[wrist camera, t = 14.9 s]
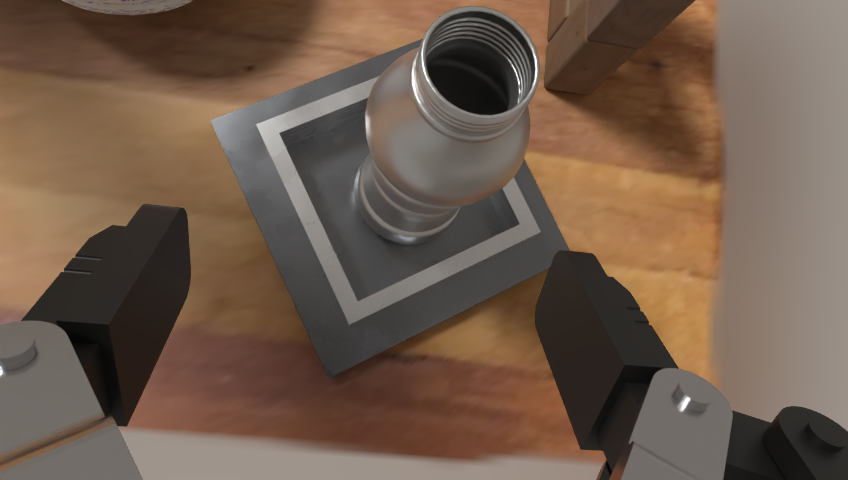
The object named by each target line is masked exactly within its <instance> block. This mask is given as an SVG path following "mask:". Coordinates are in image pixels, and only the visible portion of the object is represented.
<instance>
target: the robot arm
mask: <svg viewBox="0 0 848 480" xmlns="http://www.w3.org/2000/svg"><path fill="white" fill-rule="evenodd" d="M190 279H191V264H190V249H189V234H188V220H187V213H186V211H185V209H184V208H178V207H169V206H160V205H151V204H143V205H142V206H141V207H140V208H139V210H138V211H137V212H136V214H135V215H134V216H133V218H132V219H131V220H130V222H129V223H128V225H127V226H116V225H112V226H110V227H108V228H107V229H105V230H103V231H101V232H99V233H98V234H96V235H94V236H92V237H91V238H89V239H88V240H87V242H86V243H85V244H84V245H83V247H82V248H81V249H80V250H79V251H78V253H77V254H76V257H75V258H73V259H72V260H71V261H70V262H69V263H68V265H67V266H66V267H65V268H64V272H61V273H60V274H59V276H58V277H57V278H56V279H55V280H54V282H53V283H52V284H51V285H50V286H49V288H48V289H47V290H46V291H45V293H44V294H43V295H42V296H41V297H40V299H39V300H38V301H37V302H36V303H35V305H34V306H33V307H32V308H31V309H30V311H29V312H28V313H27V314H26V316H25V317H24V318H23V319H22V320H21V321H19V322H12V323H8V324H4V325H0V480H143V479H142V477H141V475H140V473H139V471H138V468H137V466H136V464H135V462H134V460H133V458H132V456H131V454H130V452H129V449H128V447H127V445H126V443H125V441H124V439H123V437H122V434H121V432H120V430H119V428H118V426H127V425H128V423H129V421H130V419H131V416H132V414H133V412H134V410H135V408H136V406H137V404H138V401H139V399H140V397H141V395H142V393H143V391H144V388H145V386H146V384H147V382H148V380H149V378H150V376H151V373H152V371H153V369H154V367H155V365H156V363H157V361H158V358H159V356H160V354H161V352H162V350H163V348H164V345H165V343H166V341H167V339H168V337H169V335H170V333H171V330H172V328H173V326H174V324H175V322H176V320H177V317H178V315H179V313H180V311H181V309H182V307H183V305H184V302H185V300H186V298H187V295H188V291H189V286H190ZM535 325H536V330H537V333H538V335H539V338H540V341H541V343H542V346H543V349H544V352H545V354H546V357H547V360H548V362H549V365H550V368H551V370H552V373H553V376H554V379H555V381H556V384H557V387H558V389H559V392H560V395H561V398H562V400H563V403H564V406H565V408H566V411H567V414H568V417H569V419H570V422H571V425H572V427H573V430H574V433H575V436H576V438H577V441H578V444H579V446H580V449H581V450H601V451H603V452H604V454H605V457H606V461H605V463H604V464H603V466H602V468H601V470H600V472H599V475H598V478H597V480H848V432H847V431H846V430H845V429H844V428H842V427H841V426H840V425H839V424H837V423H836V422H834V421H833V420H831V419H829V418H828V417H826V416H824V415H822V414H820V413H818V412H815V411H813V410H810V409H807V408H803V407H796V406H791V407H786V408H784V409H782V410H781V411H780V413H779V414H778V415H777V416H776V418H775V419H774V420H773V422H772V423H770V422H767V421H763V420H760V419H757V418H754V417H751V416H748V415H745V414H742V413H738V412H735V411H732V409H731V407H730V404H729V402H728V401H727V399H726V398H725V397H724V395H723V394H722V393H721V392H720V391H719V390H718V389H717V388H716V387H715V386H713V385H712V384H711V383H709V382H708V381H706V380H705V379H703V378H702V377H700V376H698V375H696V374H694V373H691V372H688V371H685V370H682V369H679V368H678V366H677V365H676V363H675V362H674V360H673V359H672V357H671V356H670V354H669V352H668V351H667V349H666V348H665V346H664V345H663V343H662V341H661V340H660V338H659V337H658V335H657V334H656V332H655V330H654V329H653V327H652V326H651V325H649V321H648V319H647V318H646V316H645V315H644V313H643V312H641V311H640V307H639V305H638V304H637V302H636V301H635V299H634V297H633V296H632V294H631V293H630V292H629V291H628V290H627V289H626V288H625V287H624V286H622V285H621V284H620V283H619V282H618V281H617V280H615V279H614V278H613V277H608V276H607V275H606V273H605V271H604V270H603V268H602V266H601V265H600V263H599V261H598V260H597V258H596V257H595V255H594V254H592V253H584V252H575V251H565V250H559V251H558V252H557V253H556V254H555V256H554V258H553V260H552V263H551V266H550V268H549V271H548V274H547V277H546V279H545V282H544V285H543V288H542V290H541V293H540V296H539V298H538V301H537V305H536V310H535Z"/></svg>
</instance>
